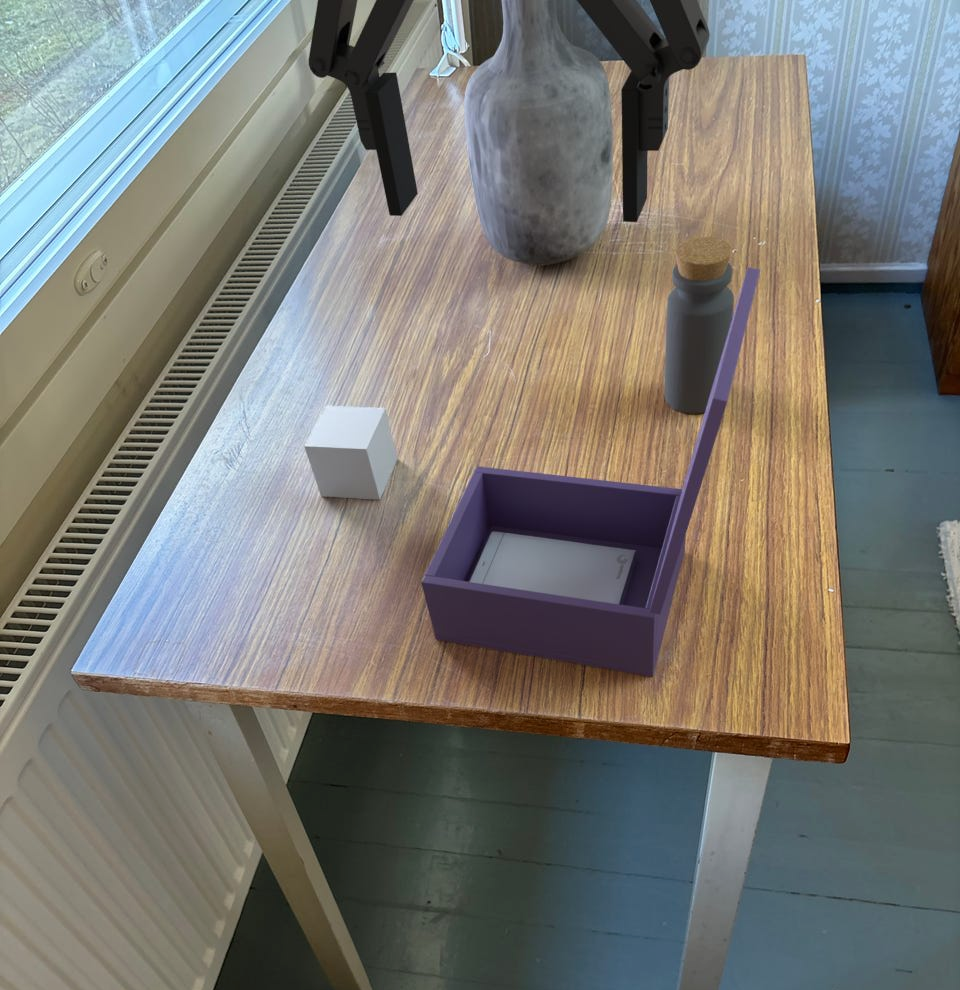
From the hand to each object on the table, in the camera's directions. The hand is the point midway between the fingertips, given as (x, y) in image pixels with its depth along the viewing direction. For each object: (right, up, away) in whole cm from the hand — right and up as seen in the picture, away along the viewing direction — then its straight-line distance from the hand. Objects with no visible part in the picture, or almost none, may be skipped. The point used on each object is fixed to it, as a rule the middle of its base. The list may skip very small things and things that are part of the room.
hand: (515, 207), depth 52 cm
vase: (+6, +23, +60) cm, 65 cm away
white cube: (-14, -9, +37) cm, 41 cm away
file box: (+5, -21, +24) cm, 32 cm away
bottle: (+19, -1, +39) cm, 43 cm away
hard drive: (+4, -20, +24) cm, 32 cm away
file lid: (+12, -12, +9) cm, 19 cm away
